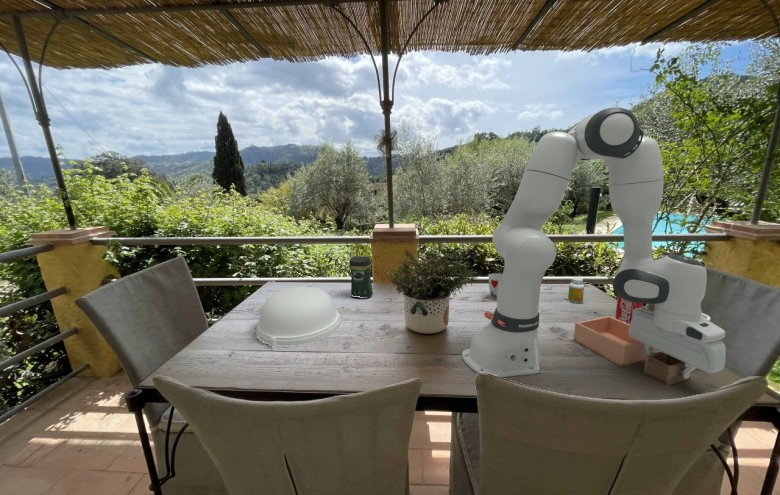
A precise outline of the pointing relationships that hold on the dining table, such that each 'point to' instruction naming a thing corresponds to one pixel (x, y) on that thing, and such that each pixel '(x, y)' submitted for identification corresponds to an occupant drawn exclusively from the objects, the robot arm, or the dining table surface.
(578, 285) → the supplement bottle
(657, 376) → the small crate
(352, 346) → the dining table surface
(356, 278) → the coffee jar
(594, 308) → the dining table surface
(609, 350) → the big crate
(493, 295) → the cup
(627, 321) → the soda can
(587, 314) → the dining table surface
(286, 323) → the dome cover
